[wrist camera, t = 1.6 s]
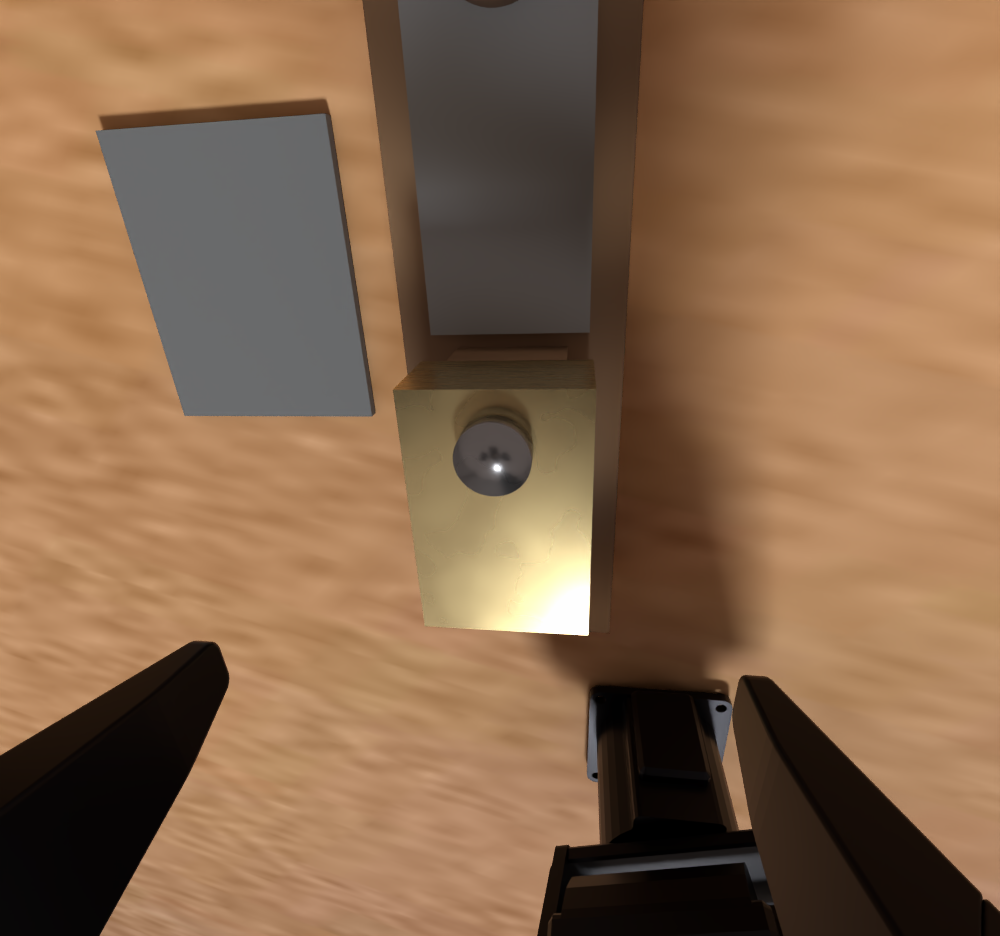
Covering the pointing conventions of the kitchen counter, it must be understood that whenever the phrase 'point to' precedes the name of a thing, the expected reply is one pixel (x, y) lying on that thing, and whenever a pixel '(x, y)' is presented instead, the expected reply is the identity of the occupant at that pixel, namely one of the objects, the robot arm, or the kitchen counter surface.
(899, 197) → the kitchen counter surface
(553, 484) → the lever cap
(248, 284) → the mat
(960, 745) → the kitchen counter surface
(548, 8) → the plane body
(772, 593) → the kitchen counter surface
